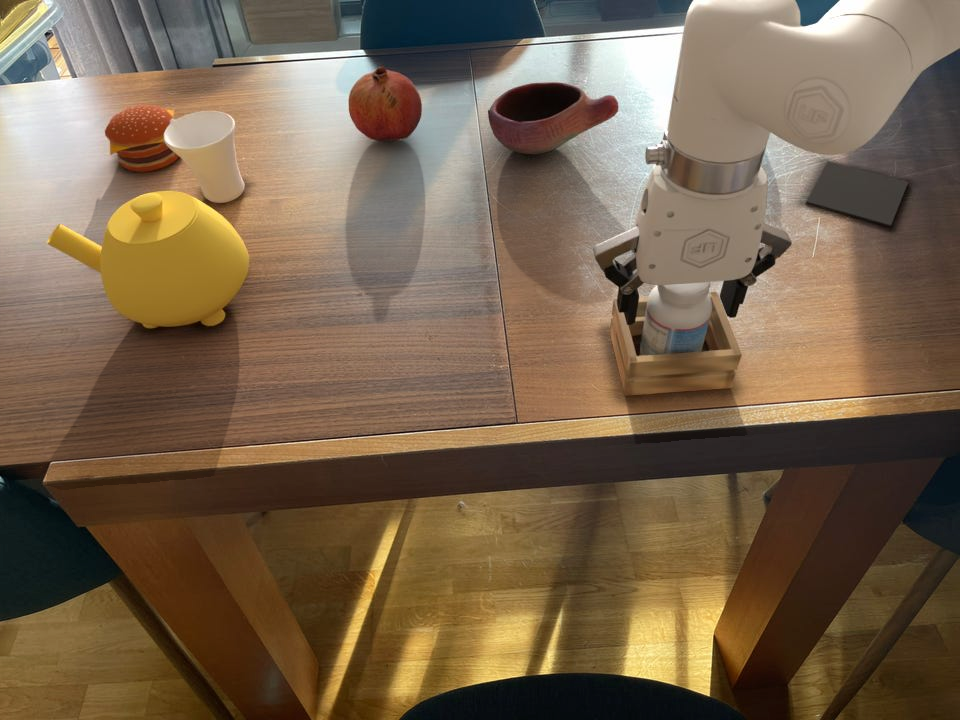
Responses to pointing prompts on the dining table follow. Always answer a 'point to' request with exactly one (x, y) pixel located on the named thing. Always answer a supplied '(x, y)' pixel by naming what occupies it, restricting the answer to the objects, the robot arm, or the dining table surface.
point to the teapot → (164, 260)
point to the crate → (675, 356)
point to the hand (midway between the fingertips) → (677, 311)
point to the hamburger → (141, 138)
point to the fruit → (385, 105)
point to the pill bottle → (676, 319)
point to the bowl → (546, 116)
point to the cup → (208, 152)
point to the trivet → (858, 193)
